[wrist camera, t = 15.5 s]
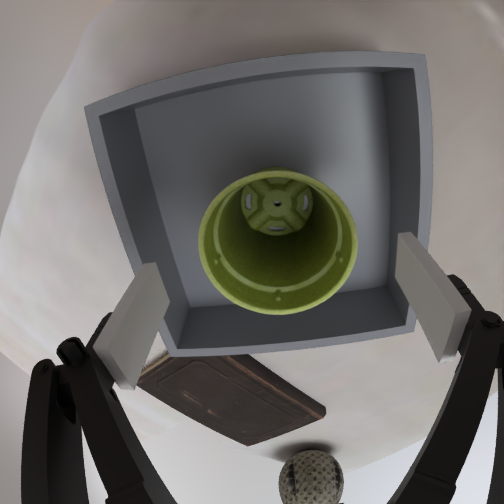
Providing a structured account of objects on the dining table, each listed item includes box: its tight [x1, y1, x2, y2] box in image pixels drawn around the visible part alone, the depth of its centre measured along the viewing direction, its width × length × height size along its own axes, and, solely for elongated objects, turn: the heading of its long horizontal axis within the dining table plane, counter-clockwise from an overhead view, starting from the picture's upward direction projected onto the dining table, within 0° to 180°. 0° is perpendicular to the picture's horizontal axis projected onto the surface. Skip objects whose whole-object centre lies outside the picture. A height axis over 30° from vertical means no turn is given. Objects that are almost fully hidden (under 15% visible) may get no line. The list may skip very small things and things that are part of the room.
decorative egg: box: [279, 450, 344, 504], centre depth 42 cm, size 12×12×15 cm
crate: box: [84, 51, 433, 357], centre depth 23 cm, size 22×22×7 cm
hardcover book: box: [137, 354, 326, 446], centre depth 40 cm, size 16×23×2 cm
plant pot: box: [198, 166, 358, 315], centre depth 22 cm, size 9×9×9 cm
